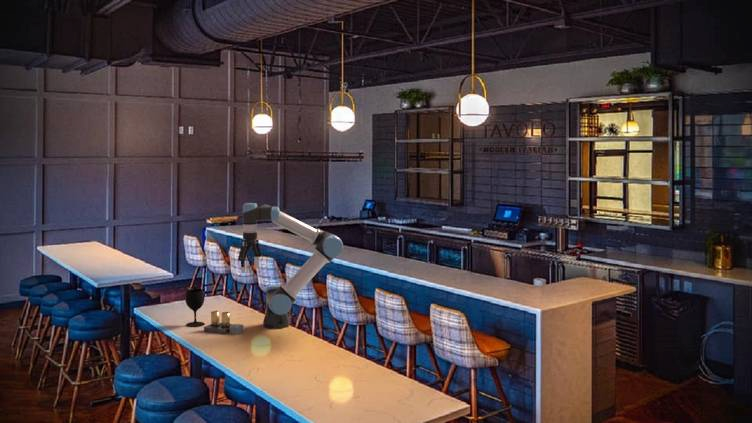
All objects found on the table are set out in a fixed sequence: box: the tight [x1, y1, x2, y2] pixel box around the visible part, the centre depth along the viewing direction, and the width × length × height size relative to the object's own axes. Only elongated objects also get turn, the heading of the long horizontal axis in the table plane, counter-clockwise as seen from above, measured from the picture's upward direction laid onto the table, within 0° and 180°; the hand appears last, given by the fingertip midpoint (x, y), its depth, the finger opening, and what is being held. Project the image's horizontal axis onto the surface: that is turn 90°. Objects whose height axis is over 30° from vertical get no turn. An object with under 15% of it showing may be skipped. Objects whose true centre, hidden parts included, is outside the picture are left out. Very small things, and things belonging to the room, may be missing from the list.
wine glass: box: [184, 288, 205, 328], centre depth 361 cm, size 10×10×20 cm
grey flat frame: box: [203, 322, 235, 335], centre depth 352 cm, size 11×14×2 cm
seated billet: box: [221, 311, 231, 328], centre depth 351 cm, size 4×4×10 cm
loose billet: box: [210, 310, 220, 327], centre depth 353 cm, size 4×4×10 cm
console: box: [229, 323, 245, 336], centre depth 347 cm, size 6×5×4 cm
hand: (250, 270), depth 343 cm, fingers open, 13 cm apart
